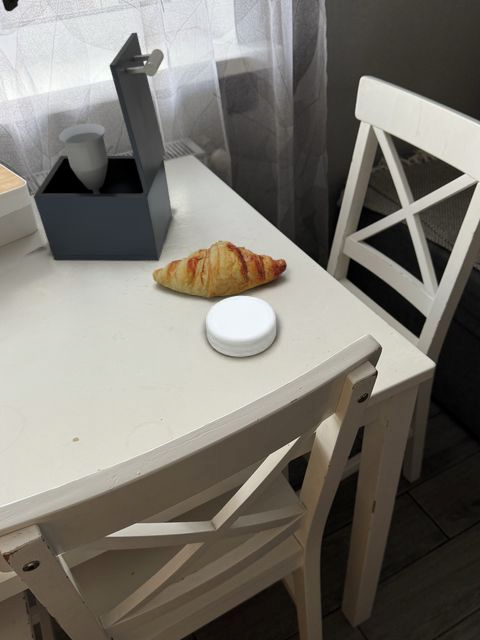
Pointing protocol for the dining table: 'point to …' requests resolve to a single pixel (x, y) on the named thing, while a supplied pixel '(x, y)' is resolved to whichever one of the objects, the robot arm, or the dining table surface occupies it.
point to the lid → (139, 106)
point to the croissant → (219, 271)
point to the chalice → (87, 153)
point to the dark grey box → (104, 213)
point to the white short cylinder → (241, 326)
